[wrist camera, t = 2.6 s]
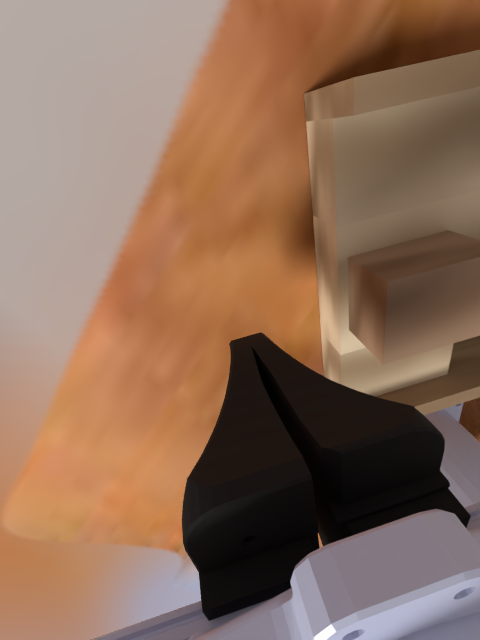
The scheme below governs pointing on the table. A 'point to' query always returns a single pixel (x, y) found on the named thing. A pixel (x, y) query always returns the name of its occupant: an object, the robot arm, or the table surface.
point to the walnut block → (415, 295)
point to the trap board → (394, 207)
